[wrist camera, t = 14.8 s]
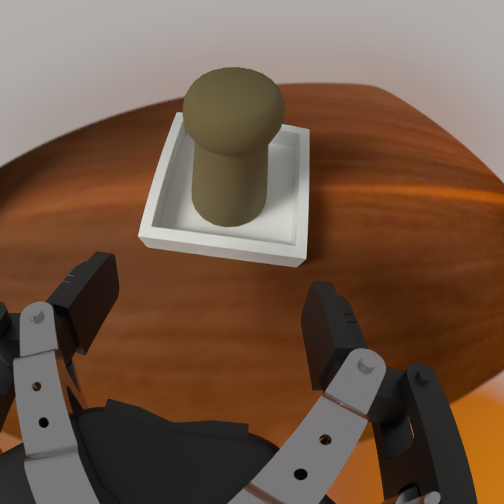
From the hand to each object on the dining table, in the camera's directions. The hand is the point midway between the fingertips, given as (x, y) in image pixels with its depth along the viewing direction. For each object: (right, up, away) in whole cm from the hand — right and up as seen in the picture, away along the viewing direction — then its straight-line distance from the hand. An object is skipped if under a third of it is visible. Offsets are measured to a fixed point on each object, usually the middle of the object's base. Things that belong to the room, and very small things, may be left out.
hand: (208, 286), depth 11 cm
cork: (0, +6, +11) cm, 13 cm away
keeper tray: (0, +6, +12) cm, 13 cm away
